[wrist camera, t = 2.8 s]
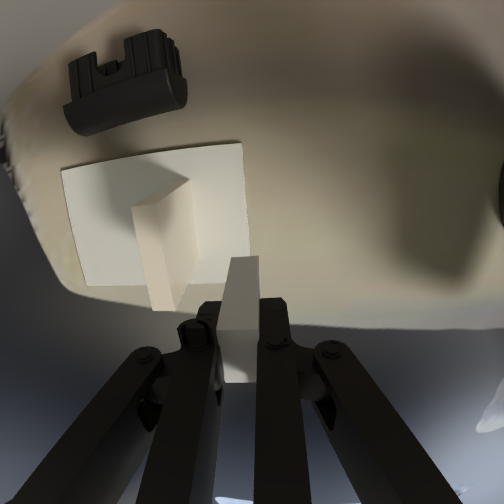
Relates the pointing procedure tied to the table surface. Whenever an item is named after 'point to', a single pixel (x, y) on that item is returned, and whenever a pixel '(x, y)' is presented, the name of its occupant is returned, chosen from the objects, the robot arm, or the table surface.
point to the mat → (144, 184)
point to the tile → (167, 242)
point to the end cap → (126, 85)
